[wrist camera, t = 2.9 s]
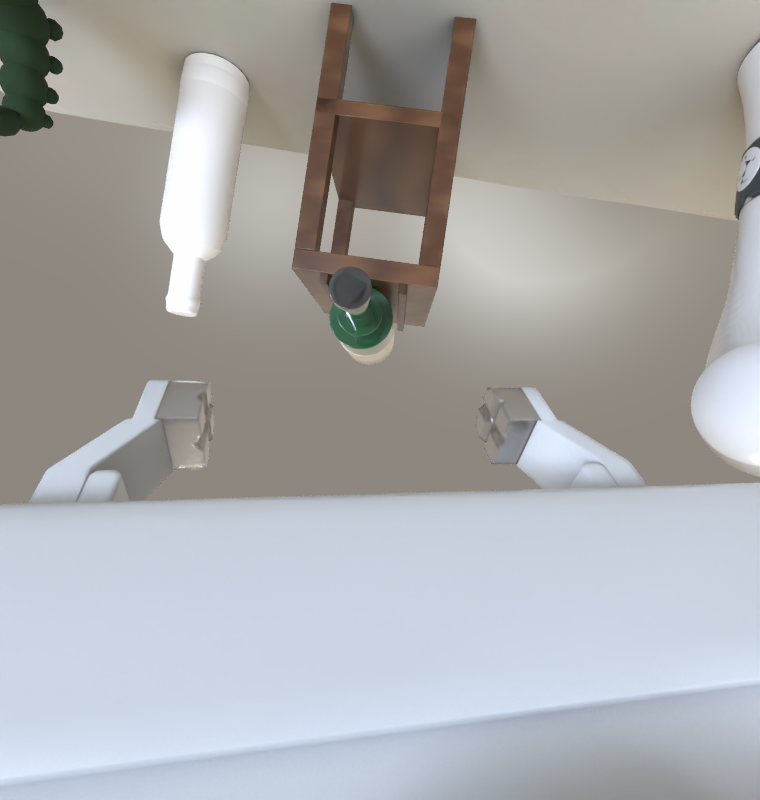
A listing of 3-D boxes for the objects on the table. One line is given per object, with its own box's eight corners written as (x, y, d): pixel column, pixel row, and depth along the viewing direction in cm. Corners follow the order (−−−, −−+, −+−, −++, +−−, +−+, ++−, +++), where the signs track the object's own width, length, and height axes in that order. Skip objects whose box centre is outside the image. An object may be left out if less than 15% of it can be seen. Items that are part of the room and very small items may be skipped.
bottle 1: (262, 82, 56) (226, 320, 56) (233, 106, 62) (200, 322, 61) (198, 39, 51) (158, 303, 50) (173, 69, 56) (136, 307, 56)
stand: (476, 18, 43) (435, 298, 43) (450, 142, 63) (423, 333, 63) (331, 2, 43) (290, 278, 43) (351, 130, 63) (323, 320, 63)
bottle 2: (398, 251, 34) (386, 335, 34) (397, 319, 60) (390, 367, 60) (314, 240, 34) (301, 324, 34) (349, 313, 60) (342, 361, 60)
